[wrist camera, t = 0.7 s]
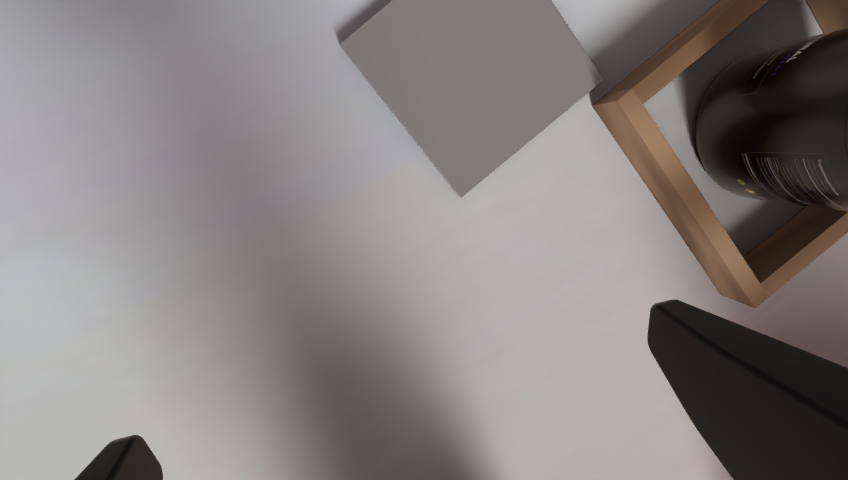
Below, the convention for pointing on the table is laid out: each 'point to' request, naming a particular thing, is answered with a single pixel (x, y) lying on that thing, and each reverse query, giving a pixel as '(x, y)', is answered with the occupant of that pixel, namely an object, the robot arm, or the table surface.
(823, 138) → the supplement bottle
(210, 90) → the table surface
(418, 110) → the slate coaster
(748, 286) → the wooden square frame
